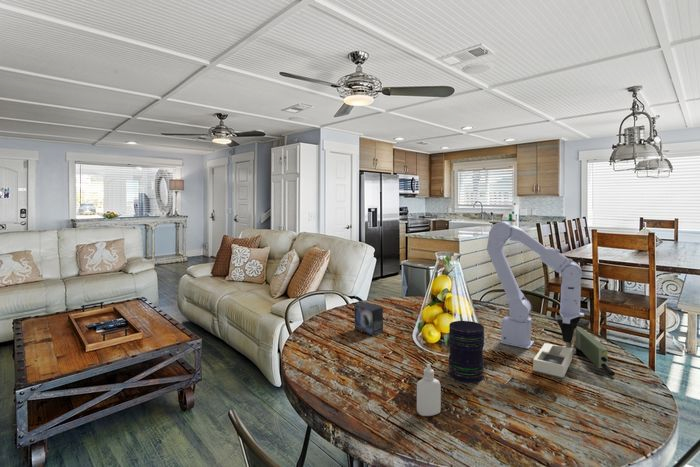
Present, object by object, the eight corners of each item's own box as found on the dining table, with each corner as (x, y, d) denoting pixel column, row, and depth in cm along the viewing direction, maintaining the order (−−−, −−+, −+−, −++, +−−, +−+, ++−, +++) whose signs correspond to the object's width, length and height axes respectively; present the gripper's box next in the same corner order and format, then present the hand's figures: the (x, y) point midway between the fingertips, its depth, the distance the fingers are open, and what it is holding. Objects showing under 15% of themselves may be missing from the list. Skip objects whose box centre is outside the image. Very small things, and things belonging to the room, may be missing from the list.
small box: (353, 330, 151) (353, 304, 150) (365, 326, 156) (364, 301, 155) (372, 336, 144) (372, 309, 143) (383, 332, 148) (383, 306, 147)
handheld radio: (583, 345, 133) (619, 378, 108) (572, 345, 133) (606, 378, 109) (582, 327, 132) (619, 355, 108) (572, 327, 133) (606, 355, 108)
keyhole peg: (559, 352, 126) (560, 329, 126) (562, 348, 130) (563, 326, 129) (575, 355, 124) (575, 332, 123) (577, 351, 127) (577, 328, 127)
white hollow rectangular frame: (563, 378, 108) (563, 366, 108) (533, 371, 113) (533, 359, 113) (572, 359, 120) (572, 348, 120) (544, 353, 125) (544, 342, 125)
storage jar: (483, 370, 114) (484, 322, 113) (483, 385, 105) (484, 333, 103) (449, 366, 117) (450, 319, 116) (447, 380, 108) (447, 329, 107)
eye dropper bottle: (417, 406, 95) (417, 359, 94) (440, 408, 93) (441, 362, 92) (416, 415, 91) (416, 367, 90) (440, 418, 89) (440, 369, 88)
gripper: (581, 305, 117) (579, 348, 118) (587, 296, 128) (585, 335, 130) (555, 302, 121) (554, 343, 123) (563, 293, 133) (562, 330, 134)
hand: (569, 338), depth 126 cm, fingers open, 6 cm apart
